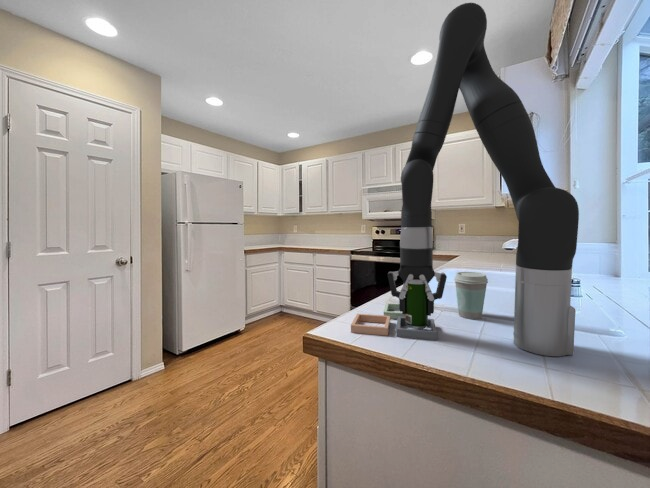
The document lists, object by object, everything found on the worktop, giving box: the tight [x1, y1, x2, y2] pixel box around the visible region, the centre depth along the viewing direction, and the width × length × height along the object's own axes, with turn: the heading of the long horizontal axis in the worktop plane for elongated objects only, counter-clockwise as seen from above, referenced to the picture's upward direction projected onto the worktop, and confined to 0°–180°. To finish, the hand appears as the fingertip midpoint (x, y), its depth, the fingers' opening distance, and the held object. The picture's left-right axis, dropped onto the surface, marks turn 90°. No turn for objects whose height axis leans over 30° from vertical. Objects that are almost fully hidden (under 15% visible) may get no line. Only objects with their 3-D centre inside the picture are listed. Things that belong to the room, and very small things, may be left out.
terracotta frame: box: [350, 313, 391, 336], centre depth 73 cm, size 9×9×2 cm
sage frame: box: [383, 302, 405, 320], centre depth 82 cm, size 9×9×2 cm
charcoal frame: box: [395, 317, 438, 341], centre depth 70 cm, size 9×9×2 cm
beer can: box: [404, 279, 429, 330], centre depth 69 cm, size 5×5×12 cm
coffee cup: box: [453, 271, 489, 320], centre depth 79 cm, size 8×9×12 cm
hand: (416, 313), depth 69 cm, fingers closed on beer can, 5 cm apart
